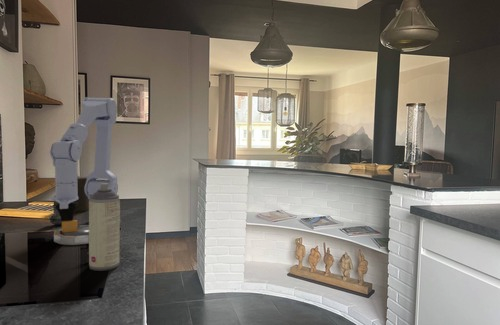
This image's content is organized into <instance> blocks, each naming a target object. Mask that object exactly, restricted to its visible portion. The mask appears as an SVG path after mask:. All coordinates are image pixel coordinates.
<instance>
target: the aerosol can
mask: <svg viewBox="0 0 500 325" xmlns="http://www.w3.org/2000/svg"><path fill="white" fill-rule="evenodd" d="M120 220H121V200H120V195H119V194H117V195H116V194H115V192H114V191H112V189H110V188H109V184H108V183H102V184H101V188H99V189H98V190H97V191H96V192H95V193H94V195H93V196H90V200H89V210H88V225H89V244H88V268H89V270H91V271H95V272H96V271H99V272H100V271H101V272H102V271H109V270H114V269H115V268H116V269H117V268H118V267H119V266H120V227H121V226H120V223H121V221H120Z"/></svg>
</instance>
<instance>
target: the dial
mask: <svg viewBox="0 0 500 325" xmlns="http://www.w3.org/2000/svg"><path fill="white" fill-rule="evenodd" d="M61 228H62V232H64V235H65V236H83V235H89V226H80V227H78V219H73V220H71V221H62V224H61Z"/></svg>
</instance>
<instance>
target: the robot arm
mask: <svg viewBox="0 0 500 325" xmlns="http://www.w3.org/2000/svg"><path fill="white" fill-rule="evenodd" d="M117 113H118V106H117V103H116V100H115V99H114V98H112V97H108V98H107V97H88V96H86V97H84V98H83V100H82V102H81V113H80V115H79V117H78V119H77V121H76V122H75V123H71V124H70V125H69V126H68V128H67V129H66V131H65V132H64V133H63V135H62V137H61V138H60V140H55V142H53V143H52V144H51V147H50V150H49V154H50V158H51V160H52V166H53V167H54V179H55V186H54V187H55V190H54V191H55V195H56V197H54V196H51V197H50V201H54V200H55V201H56V202H58V203H60V204H56V209H57V210H58V212H59V214H60V217H61V223H62V221H71V220H74V214H75V213H76V212H75V209H76V207H77V205H78V203H71V202H74V201H76V200H78V185H77V174H78V161H79V160H80V158H81V157H82V150H83V144H84V143H85V141H86V139H87V138H88V136H89V130H88V129H89V128H90V127H91V125H92V123H94V124H95V125H96V137H95V138H96V139H95V153H94V155H95V156H94V165H93V167H94V168H93V171H92V172H91V173H89V174H88V175H87V180H86V184H85V188H84V190H85V194H86V195H87V196H88V199H90V196H93V195H94V193H95V192H96V191H97V190H98V189H99V188H101V184H102V183H108V184H109V188H110V189H112V191H114V192H115V194H116V195H118V191H119V185H118V177H117V176H116V175H115V174H114V173H113V172H112V171H110V166H111V152H112V150H111V148H112V135H113V133H112V132H113V125H114V124H115V123H117V117H118V116H117V115H118V114H117ZM120 222H122V219H120Z"/></svg>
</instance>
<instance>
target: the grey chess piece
mask: <svg viewBox="0 0 500 325" xmlns="http://www.w3.org/2000/svg"><path fill="white" fill-rule="evenodd" d="M53 197H56V194H55V195H53ZM56 204H60V203H58V202H56V201H55V200H53V205H52V207H53V212H52V214H51V215H50V216H48V219H49V221H50V224H52V225H54V226H60V225H61V226H62V223H61V217H60V214H59V212H58V210H57V209H56Z"/></svg>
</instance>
